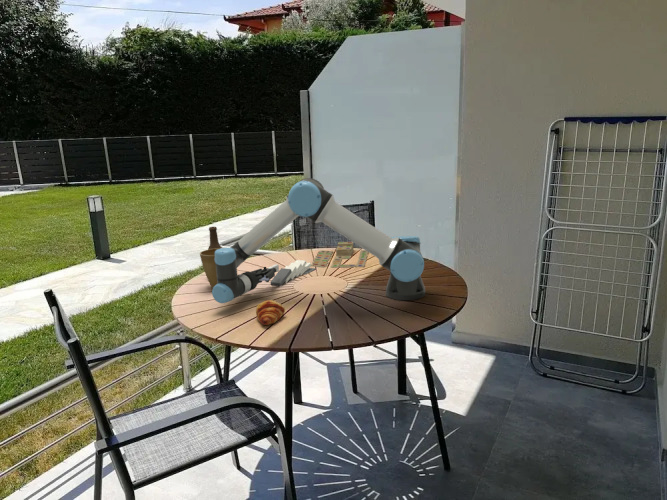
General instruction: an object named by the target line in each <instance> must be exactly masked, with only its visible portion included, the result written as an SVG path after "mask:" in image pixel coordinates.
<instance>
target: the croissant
mask: <svg viewBox="0 0 667 500" xmlns="http://www.w3.org/2000/svg"><path fill="white" fill-rule="evenodd" d="M285 311H286V309H285V307H284V306H283V305H282V304H281V303H279V302H278V301H275V300H272V299H266V300H264V301H262V302H260V303H258V304H257V306H256V308H255V313H256V318H257V320H258V321H259V322H260V324H261V325H264V326H268V325H272V324H275V323H277V322H278V321H279V320H280V319H281V318H282V316H284V314H285Z"/></svg>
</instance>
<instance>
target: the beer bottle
mask: <svg viewBox="0 0 667 500" xmlns="http://www.w3.org/2000/svg"><path fill="white" fill-rule="evenodd" d="M217 230H218V229H217V226H209V228H208V231H209V246H208V248H207V250H209V249H215V248H223V247H222V246H221V244H220V242H219V238H218V231H217Z"/></svg>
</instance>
